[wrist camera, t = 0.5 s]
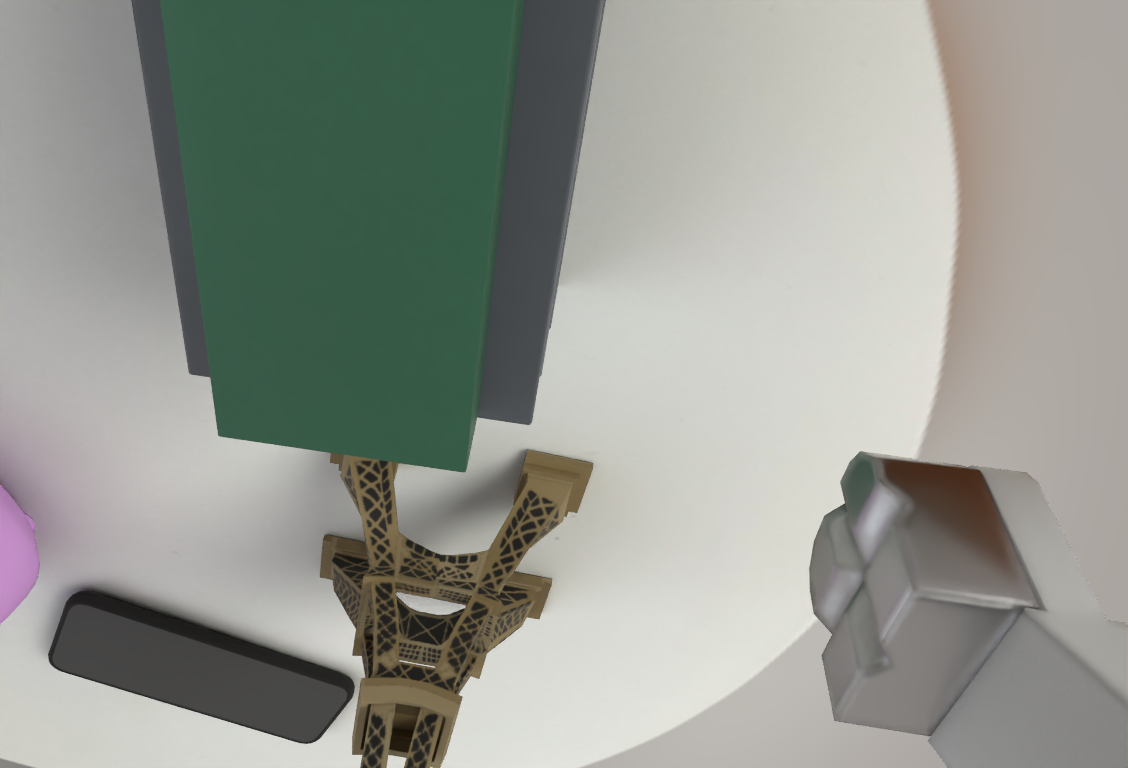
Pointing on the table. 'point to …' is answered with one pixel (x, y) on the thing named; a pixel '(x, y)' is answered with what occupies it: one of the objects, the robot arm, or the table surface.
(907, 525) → the robot arm
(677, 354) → the table surface
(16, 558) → the teapot
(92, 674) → the smartphone
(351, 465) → the eiffel tower
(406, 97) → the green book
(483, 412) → the grey stack
